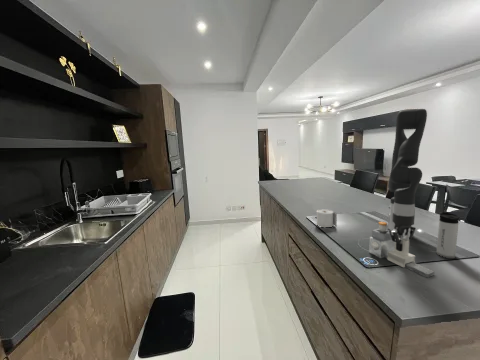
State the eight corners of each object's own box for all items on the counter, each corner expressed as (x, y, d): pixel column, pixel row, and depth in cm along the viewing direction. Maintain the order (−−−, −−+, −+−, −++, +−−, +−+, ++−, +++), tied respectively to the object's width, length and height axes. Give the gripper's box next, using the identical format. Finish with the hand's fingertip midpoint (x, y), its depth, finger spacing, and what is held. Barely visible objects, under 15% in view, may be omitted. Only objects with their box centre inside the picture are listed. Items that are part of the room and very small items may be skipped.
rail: (384, 257, 98) (384, 254, 98) (390, 255, 100) (390, 252, 99) (427, 277, 82) (427, 274, 82) (434, 275, 83) (434, 271, 83)
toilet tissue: (316, 222, 148) (315, 209, 146) (334, 223, 144) (334, 209, 143) (317, 228, 138) (317, 213, 136) (336, 229, 134) (336, 214, 133)
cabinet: (368, 252, 103) (369, 230, 101) (382, 248, 106) (383, 227, 104) (380, 258, 98) (380, 235, 96) (394, 254, 100) (395, 231, 99)
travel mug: (449, 252, 99) (453, 212, 96) (458, 259, 93) (462, 216, 90) (433, 250, 101) (436, 211, 98) (441, 257, 95) (444, 216, 92)
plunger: (376, 231, 101) (376, 222, 101) (381, 230, 102) (381, 221, 102) (383, 233, 98) (383, 224, 97) (388, 232, 99) (388, 223, 98)
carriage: (387, 259, 96) (388, 237, 94) (398, 256, 98) (399, 234, 96) (403, 267, 89) (405, 243, 87) (414, 263, 91) (416, 240, 89)
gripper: (405, 208, 96) (403, 243, 98) (383, 212, 91) (382, 249, 94) (424, 212, 89) (421, 250, 91) (401, 217, 84) (399, 257, 87)
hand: (401, 249), depth 92 cm, fingers closed on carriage, 2 cm apart
